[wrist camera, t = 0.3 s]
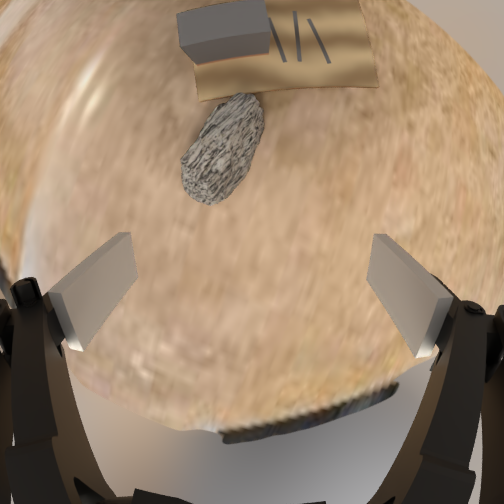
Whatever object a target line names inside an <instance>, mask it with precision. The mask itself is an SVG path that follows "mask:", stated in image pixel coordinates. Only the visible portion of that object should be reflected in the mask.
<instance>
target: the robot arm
mask: <svg viewBox="0 0 504 504" xmlns="http://www.w3.org/2000/svg"><path fill="white" fill-rule="evenodd" d="M137 278H138V273H137V268H136V262H135V256H134V251H133V244H132V238H131V232H119V233H118V234H116V235H115V236H114V237H112V238H111V239H110V240H109V241H107V242H106V243H105V244H103V245H102V246H101V247H100V248H98V249H97V250H96V251H95V252H93V253H92V254H91V255H90V256H88V257H87V258H86V259H85V260H83V261H82V262H81V263H80V264H79V265H77V266H76V267H75V268H74V269H73V270H72V271H70V272H69V273H68V274H67V275H66V276H65V277H63V278H62V279H61V280H60V281H59V282H58V283H57V284H56V285H54V286H53V287H52V288H51V289H50V290H49V291H48V292H47V293H46V294H45V295H43V296H42V295H41V292H40V289H39V286H38V283H37V280H36V278H34V277H28V278H24V279H21V280H19V281H17V282H16V283H14V284H13V285H12V286H11V288H10V290H11V293H12V296H13V298H14V301H15V304H16V306H17V309H10V308H9V306H8V303H7V301H6V300H5V299H0V345H1V347H2V349H3V353H1V351H0V504H11V493H12V497H13V501H14V504H192V503H189V502H187V501H184V500H182V499H179V498H175V497H170V496H165V495H160V494H156V493H151V492H147V491H143V490H139V489H135V491H134V494H133V496H128V497H116V495H115V494H114V492H113V491H112V490H111V489H110V487H109V486H108V485H107V483H106V481H105V480H104V478H103V476H102V473H101V471H100V469H99V467H98V464H97V462H96V459H95V457H94V455H93V452H92V450H91V447H90V444H89V441H88V439H87V436H86V433H85V430H84V427H83V424H82V421H81V418H80V415H79V412H78V408H77V405H76V401H75V398H74V394H73V390H72V386H71V382H70V378H69V373H68V368H67V363H66V358H65V353H64V349H63V347H62V345H61V342H62V341H63V339H64V338H66V341H67V343H68V345H69V347H70V349H74V350H78V351H83V352H84V350H85V349H86V347H87V346H88V344H89V343H90V342H91V340H92V339H93V337H94V336H95V334H96V333H97V332H98V330H99V329H100V327H101V326H102V325H103V323H104V322H105V320H106V319H107V318H108V316H109V315H110V314H111V312H112V311H113V310H114V308H115V307H116V306H117V304H118V303H119V302H120V300H121V299H122V298H123V296H124V295H125V294H126V292H127V291H128V290H129V288H130V287H131V286H132V285H133V283H134V282H135V281H136V280H137ZM366 280H367V281H368V283H369V284H370V286H371V287H372V289H373V290H374V292H375V293H376V295H377V296H378V298H379V300H380V301H381V303H382V304H383V306H384V307H385V309H386V310H387V312H388V314H389V315H390V317H391V318H392V320H393V322H394V323H395V325H396V327H397V328H398V330H399V331H400V333H401V335H402V336H403V338H404V340H405V341H406V343H407V345H408V347H409V348H410V350H411V352H412V353H413V355H414V357H415V358H420V357H425V356H430V355H431V352H432V350H433V348H434V346H435V344H436V345H437V346H438V348H439V349H440V350H439V352H438V354H437V356H436V358H435V361H434V363H433V365H432V366H431V369H430V371H432V373H431V376H430V379H429V382H428V385H427V388H426V391H425V393H424V396H423V399H422V401H421V404H420V407H419V409H418V412H417V414H416V417H415V419H414V421H413V424H412V426H411V428H410V430H409V433H408V435H407V437H406V439H405V441H404V443H403V446H402V448H401V450H400V451H399V453H398V455H397V458H396V459H395V461H394V463H393V465H392V467H391V469H390V470H389V472H388V474H387V476H386V477H385V479H384V481H383V483H382V484H381V486H380V487H379V489H378V490H377V492H376V494H375V495H374V496H373V497H372V499H371V500H370V501H369V502H368V503H367V504H468V502H469V499H470V496H471V493H472V490H473V487H474V484H475V479H476V474H475V471H471V470H469V462H470V459H471V455H472V451H473V447H474V443H475V438H476V433H477V429H478V423H479V418H480V413H481V419H482V444H483V454H482V459H483V460H482V479H481V491H480V500H479V504H504V305H500V306H499V307H498V309H497V312H496V314H495V315H487V314H486V312H485V310H484V309H483V308H482V307H481V306H480V305H479V304H477V303H475V302H472V301H468V300H466V301H461V300H460V299H459V298H458V297H457V296H456V295H455V294H454V293H453V292H452V291H451V290H450V289H448V287H447V286H446V285H445V284H443V282H442V281H441V280H439V279H438V278H437V277H436V276H434V275H432V274H430V273H429V272H428V271H427V270H426V269H425V268H424V267H423V266H422V265H420V264H419V263H418V262H417V261H416V260H415V259H414V258H413V257H412V256H411V255H410V254H408V253H407V252H406V251H405V250H404V249H403V248H402V247H401V246H399V245H398V244H397V243H396V242H395V241H394V240H393V239H391V238H390V237H389V236H388V235H387V234H374V237H373V243H372V250H371V256H370V262H369V267H368V273H367V278H366ZM502 357H503V359H502V360H501V358H502ZM13 432H14V440H15V446H12V442H13ZM304 504H326V501H323V502H315V503H304Z"/></svg>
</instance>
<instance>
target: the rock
mask: <svg viewBox="0 0 504 504" xmlns="http://www.w3.org/2000/svg"><path fill="white" fill-rule="evenodd" d="M259 105H260V103H259V101H258V100H256V98H255V96H254V95H253V94H244V93H242V92H241V93H236V94H235V95H234V96H233V97H231V99H230V100H229V101H228V102H227V103H225V104H224V103H223V104H220V105H218V106H217V107H216V108H215V109H214V111H213V112H212V113H211V114H210V116H209V117H208V119H207V120H206V122H205V124H204V127H203V128H202V130H201V131H200V135H199V137H198V138H197V140H196V141H195V142H194V144H193V145H192V146H191V147H190V148H189V149H188V151H187V152H186V154H185V155H184V156H183V157H182V158H181V159H180V160H181V164H182V167H181V170H182V175H181V176H182V183H183V187H184V190H185V191H186V192H187V193H188V194H189V196H190V197H191V198H193V199H195V200H196V201H197V202H200V203H204V204H206V205H210V206H211V205H214V204H216V203H217V204H218V203H219V202H220V201H223V200H224V199H226V198H227V197H228V196H229V195H230V194H231V193H232V191H233V190H234V189H235V188H236V187H237V186H238V185H239V184H240V182H241V181H242V180H243V179H244V178H245V176H246V174H247V173H248V171H249V169H250V166H251V161H252V158H253V155H254V152H255V149H256V147H257V145H258V144H259V142H260V137H261V135H262V133H263V130H264V119H263V112H264V110H263V108H262V107H259Z"/></svg>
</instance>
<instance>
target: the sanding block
mask: <svg viewBox="0 0 504 504" xmlns="http://www.w3.org/2000/svg"><path fill="white" fill-rule="evenodd" d="M177 24H178V33H179V42H180V47H181V49H182V50H183V51H184V52H185V53H186V54H187V55H188V56H189V57H190V58H191V60H192V61H193V62H194V63H195V64H196V65H197V66H200V65H204V64H209V63H214V62H219V61H225V60H231V59H237V58H244V57H252V56H260V55H269V46H270V36H271V29H270V24H269V19H268V15H267V10H266V5H265V1H264V0H243V1H236V2H229V3H223V4H217V5H212V6H207V7H202V8H198V9H193V10H189V11H185V12H181V13H177Z"/></svg>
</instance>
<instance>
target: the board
mask: <svg viewBox="0 0 504 504" xmlns="http://www.w3.org/2000/svg"><path fill="white" fill-rule="evenodd" d="M239 1H243V0H239ZM264 1H265V5H266V10H267V15H268V19H269V24H270V29H271V36H270V46H269V55H260V56H252V57H244V58H237V59H231V60H225V61H219V62H214V63H209V64H204V65H200V66H197V65H196V64H195V63H194V62H193V65H194V72H195V80H196V87H197V94H198V100H199V102H204V101H209V100H214V99H219V98H225V97H231V96H234V95H235V94H236V93H241V92H242V93H244V94H251V93H259V92H267V91H277V90H288V89H302V88H325V87H361V88H378V87H379V82H378V77H377V72H376V66H375V62H374V57H373V52H372V48H371V44H370V40H369V36H368V32H367V28H366V24H365V21H364V17H363V14H362V11H361V7H360V4H359V1H358V0H264ZM232 2H236V1H232ZM226 3H229V2H226ZM220 4H223V3H220ZM215 5H217V4H215ZM209 6H212V5H209ZM205 7H207V6H205ZM200 8H202V7H200ZM195 9H198V8H195ZM191 10H193V9H191ZM187 11H189V10H187Z"/></svg>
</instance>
